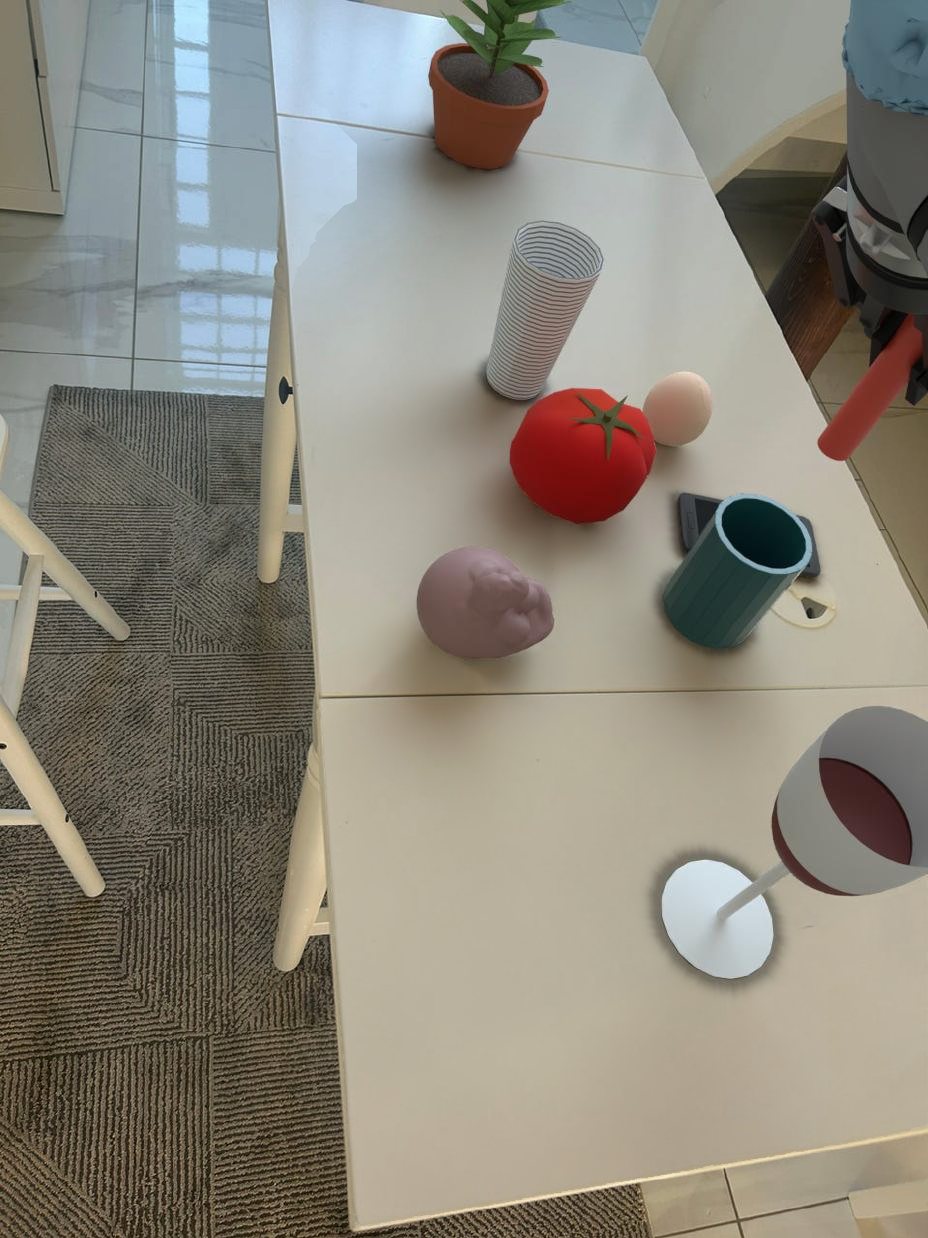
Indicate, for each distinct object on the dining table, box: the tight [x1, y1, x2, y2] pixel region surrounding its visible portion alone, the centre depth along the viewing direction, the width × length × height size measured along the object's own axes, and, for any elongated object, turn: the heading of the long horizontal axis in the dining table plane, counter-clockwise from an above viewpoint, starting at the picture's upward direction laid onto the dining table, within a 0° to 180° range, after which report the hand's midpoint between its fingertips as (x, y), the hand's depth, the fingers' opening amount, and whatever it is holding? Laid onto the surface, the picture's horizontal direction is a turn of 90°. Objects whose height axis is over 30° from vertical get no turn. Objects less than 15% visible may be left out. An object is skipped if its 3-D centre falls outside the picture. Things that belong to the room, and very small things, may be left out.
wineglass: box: [661, 705, 928, 980], centre depth 62 cm, size 9×10×23 cm
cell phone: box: [677, 492, 822, 579], centre depth 94 cm, size 7×14×1 cm, turn 87°
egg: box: [641, 371, 713, 447], centre depth 97 cm, size 7×7×8 cm
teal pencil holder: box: [662, 492, 812, 650], centre depth 83 cm, size 8×8×11 cm
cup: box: [485, 220, 605, 401], centre depth 93 cm, size 8×8×16 cm
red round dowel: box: [816, 313, 923, 462], centre depth 60 cm, size 2×2×15 cm
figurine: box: [416, 546, 555, 661], centre depth 76 cm, size 9×11×12 cm
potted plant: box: [428, 0, 573, 170], centre depth 111 cm, size 15×15×30 cm
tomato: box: [509, 387, 658, 525], centre depth 88 cm, size 13×12×11 cm
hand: (907, 371), depth 64 cm, fingers closed on red round dowel, 2 cm apart
